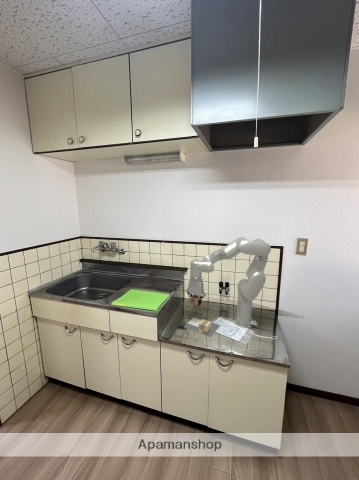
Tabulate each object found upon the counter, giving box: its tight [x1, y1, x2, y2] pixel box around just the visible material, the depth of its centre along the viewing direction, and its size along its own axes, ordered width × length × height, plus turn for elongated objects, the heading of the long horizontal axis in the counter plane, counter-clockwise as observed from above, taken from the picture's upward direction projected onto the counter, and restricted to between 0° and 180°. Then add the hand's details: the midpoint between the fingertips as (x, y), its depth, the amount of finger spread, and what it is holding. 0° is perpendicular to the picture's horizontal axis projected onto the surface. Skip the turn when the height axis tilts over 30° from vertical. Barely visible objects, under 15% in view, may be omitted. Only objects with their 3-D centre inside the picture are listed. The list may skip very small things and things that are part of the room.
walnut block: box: [188, 294, 202, 309], centre depth 150 cm, size 6×6×6 cm
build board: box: [183, 316, 221, 338], centre depth 149 cm, size 20×15×1 cm
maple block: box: [199, 318, 212, 336], centre depth 143 cm, size 6×6×6 cm
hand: (195, 302), depth 150 cm, fingers closed on walnut block, 5 cm apart
